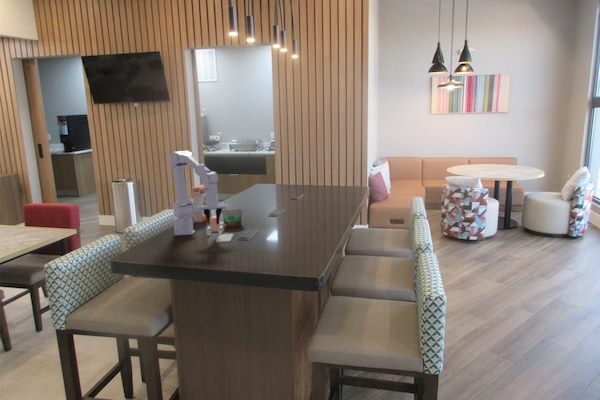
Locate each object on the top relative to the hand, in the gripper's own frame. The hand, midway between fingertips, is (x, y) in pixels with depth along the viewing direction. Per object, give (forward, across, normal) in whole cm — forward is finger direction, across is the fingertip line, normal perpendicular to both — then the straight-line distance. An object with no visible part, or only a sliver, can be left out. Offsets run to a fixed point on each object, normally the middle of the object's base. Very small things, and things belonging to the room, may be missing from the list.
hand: (214, 224), depth 212 cm
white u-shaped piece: (+8, -2, +17) cm, 19 cm away
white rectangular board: (+8, +4, +3) cm, 10 cm away
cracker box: (+9, -15, +48) cm, 51 cm away
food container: (+9, +6, +27) cm, 29 cm away
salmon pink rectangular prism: (+2, 0, +3) cm, 4 cm away
